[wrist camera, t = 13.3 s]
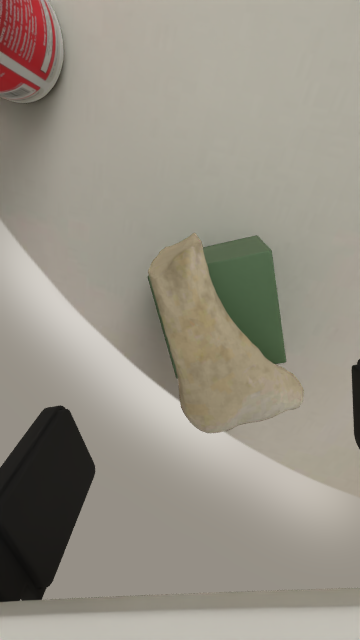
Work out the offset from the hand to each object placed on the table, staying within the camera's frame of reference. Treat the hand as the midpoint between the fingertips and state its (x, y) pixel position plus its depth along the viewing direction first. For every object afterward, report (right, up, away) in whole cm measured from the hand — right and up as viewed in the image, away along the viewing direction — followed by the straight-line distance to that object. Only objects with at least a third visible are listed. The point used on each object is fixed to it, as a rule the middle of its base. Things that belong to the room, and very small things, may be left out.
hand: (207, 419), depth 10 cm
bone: (+1, +3, +8) cm, 9 cm away
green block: (+2, +6, +14) cm, 15 cm away
